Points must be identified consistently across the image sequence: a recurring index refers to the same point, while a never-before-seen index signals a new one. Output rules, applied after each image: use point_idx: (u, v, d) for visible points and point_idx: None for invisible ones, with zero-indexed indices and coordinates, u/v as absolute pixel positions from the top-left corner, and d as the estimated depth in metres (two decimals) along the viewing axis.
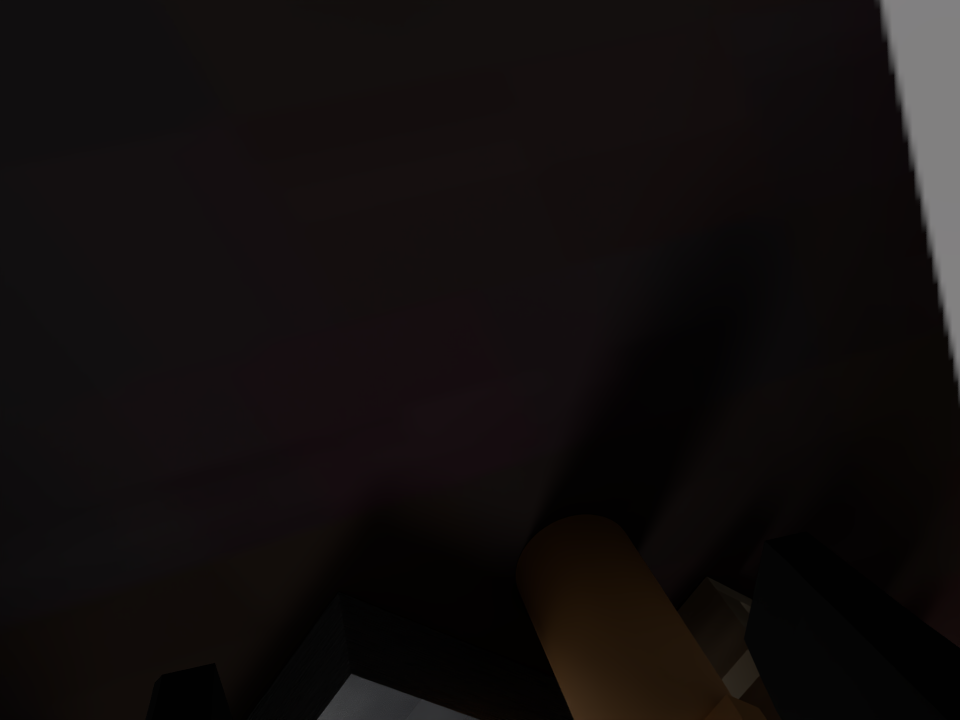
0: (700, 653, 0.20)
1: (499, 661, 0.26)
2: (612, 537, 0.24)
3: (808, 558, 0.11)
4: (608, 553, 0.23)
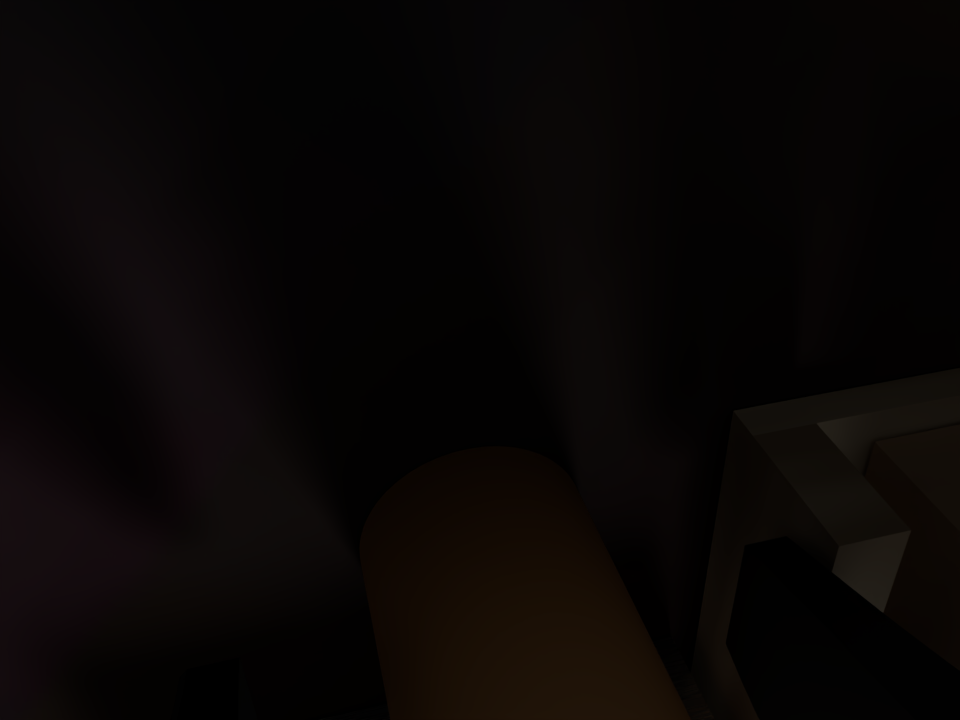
0: None
1: None
2: (455, 509, 0.12)
3: (788, 563, 0.11)
4: (439, 564, 0.11)
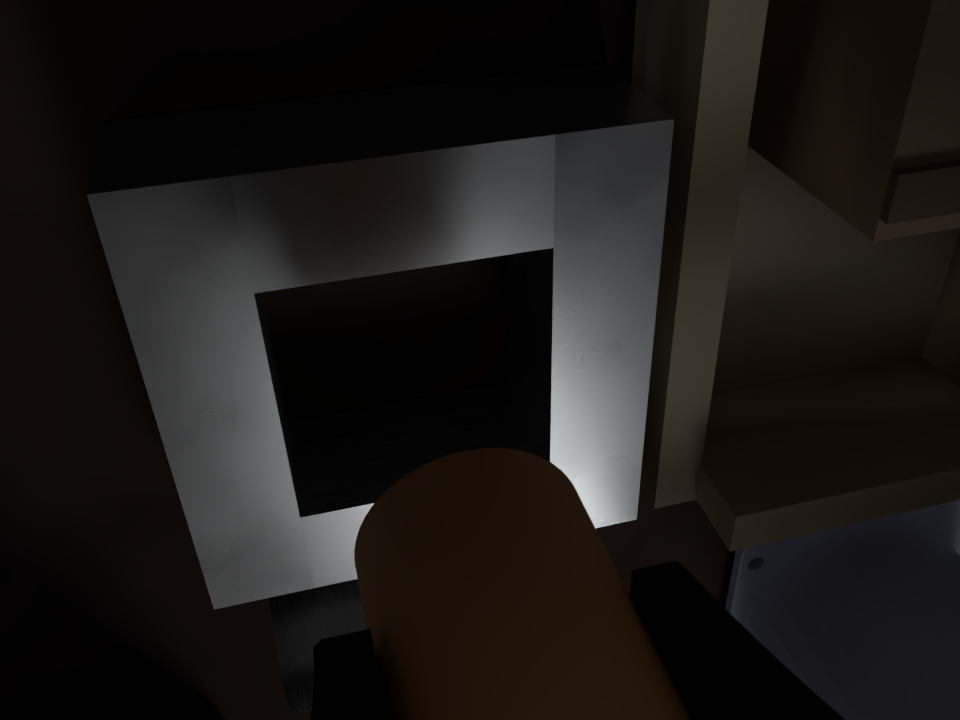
0: None
1: (416, 90, 0.16)
2: (454, 511, 0.11)
3: (671, 589, 0.11)
4: (438, 567, 0.11)
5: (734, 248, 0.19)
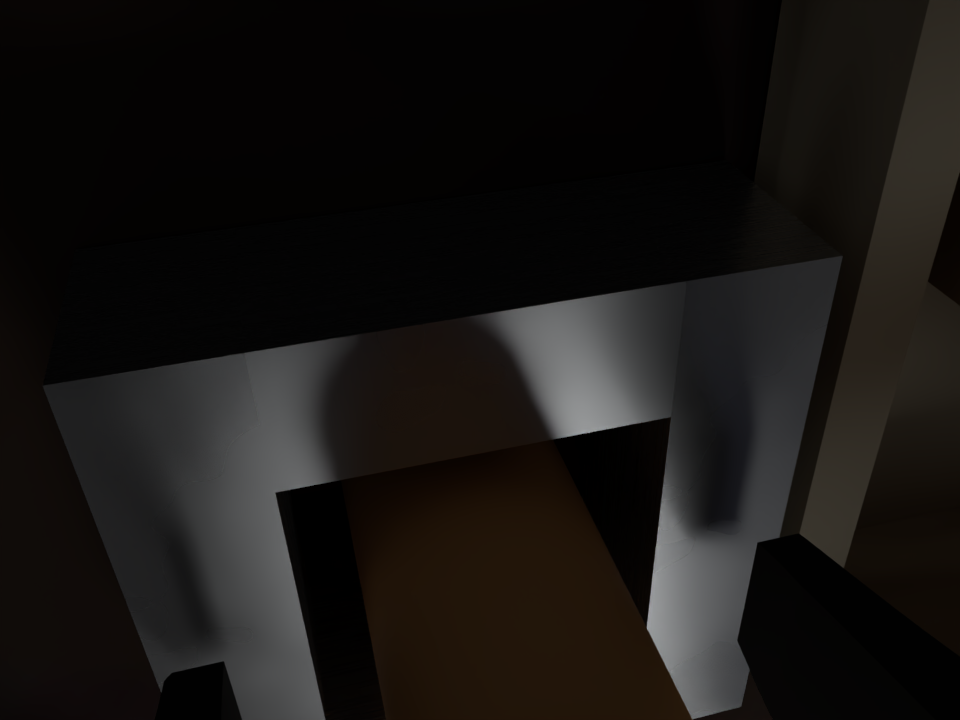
0: (554, 624, 0.10)
1: (485, 202, 0.12)
2: None
3: (800, 560, 0.11)
4: None
5: None
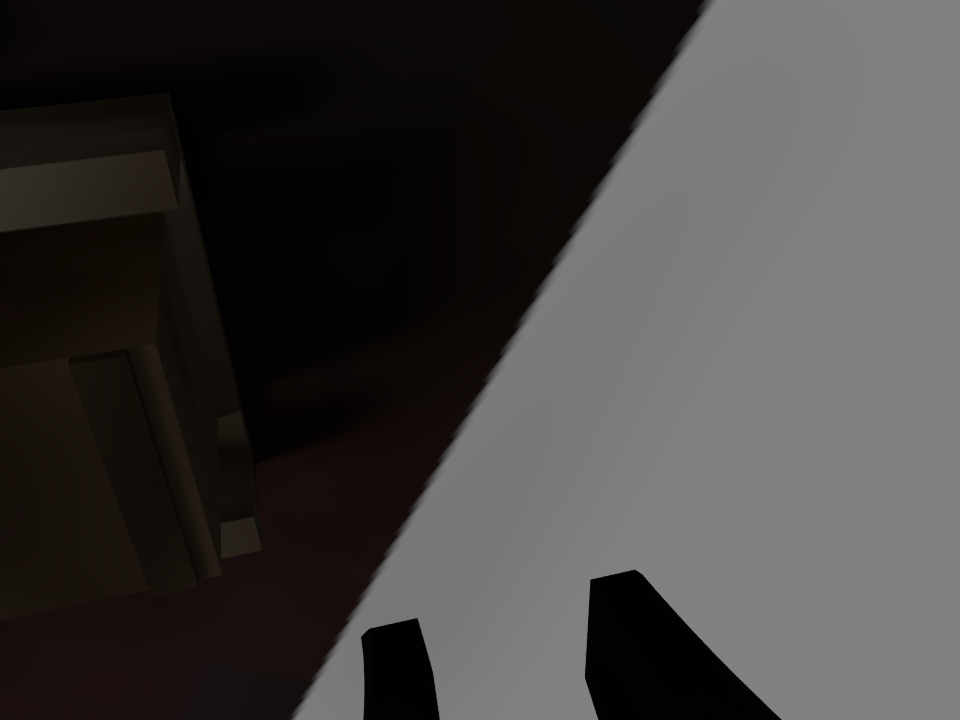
0: None
1: None
2: None
3: (628, 599, 0.11)
4: None
5: None
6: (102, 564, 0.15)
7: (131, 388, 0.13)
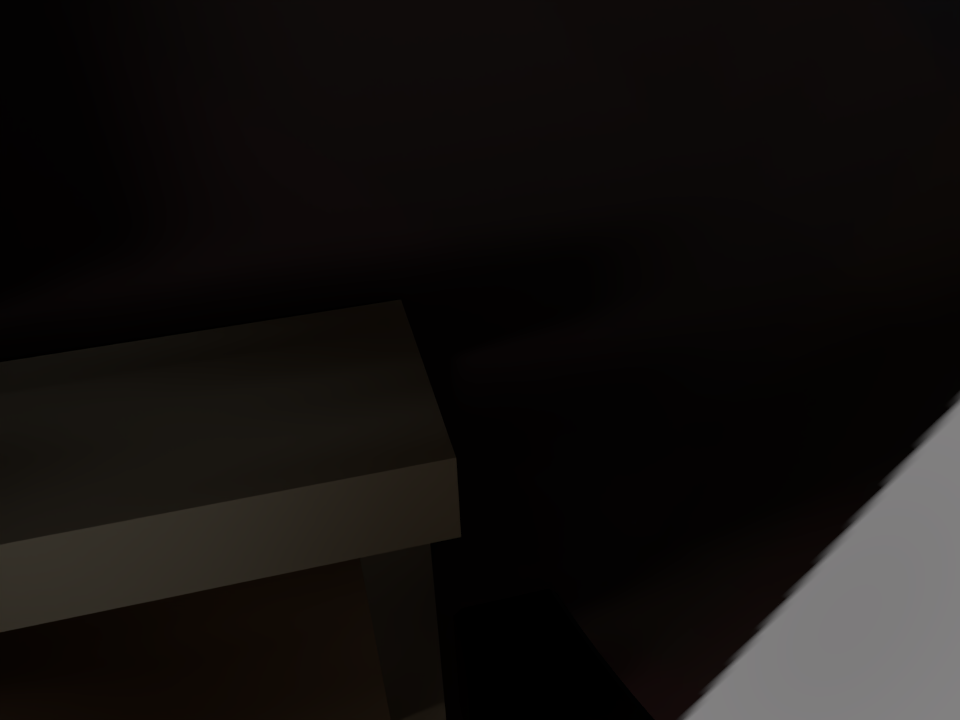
0: None
1: None
2: None
3: (537, 620, 0.11)
4: None
5: None
6: None
7: None
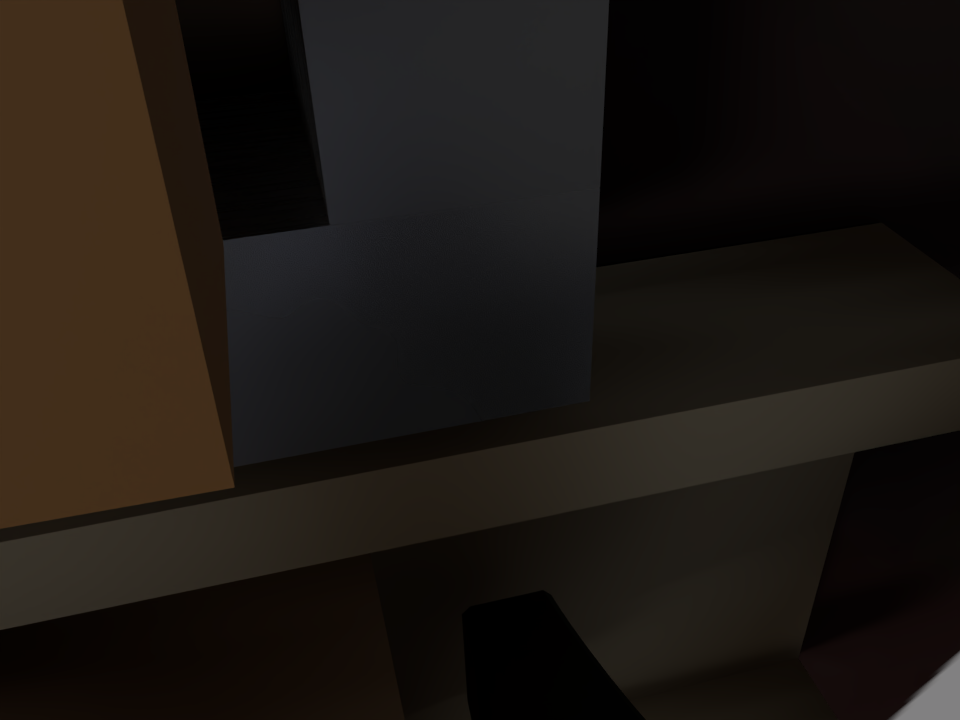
0: None
1: None
2: None
3: (531, 622, 0.11)
4: None
5: None
6: None
7: None
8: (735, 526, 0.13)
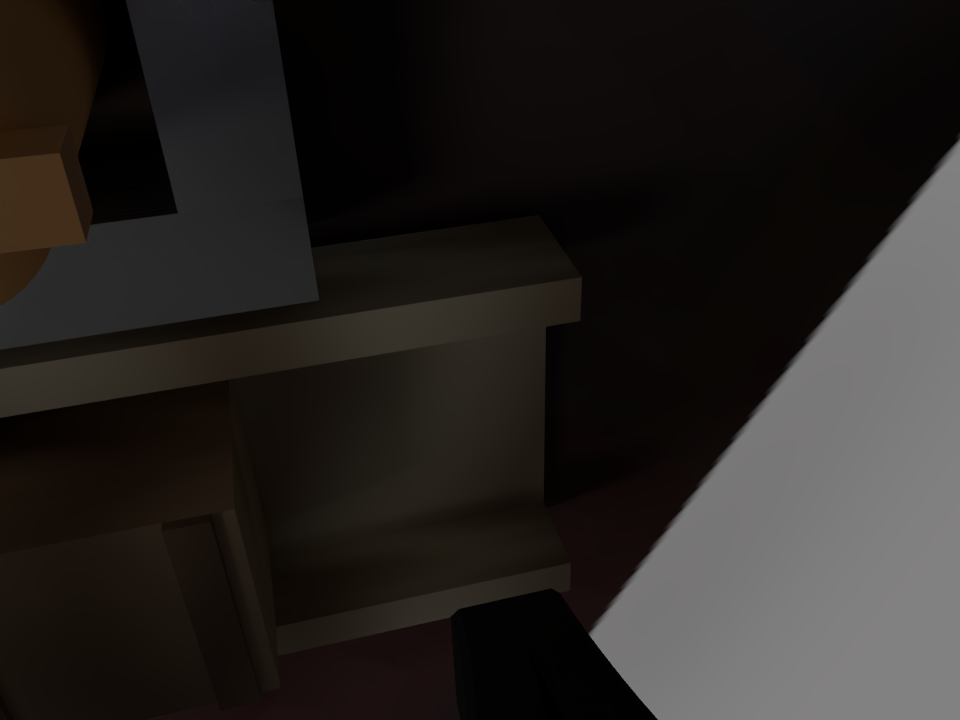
0: (74, 131, 0.11)
1: None
2: (89, 0, 0.14)
3: (540, 619, 0.11)
4: None
5: None
6: (179, 683, 0.18)
7: (213, 546, 0.16)
8: (476, 402, 0.21)
